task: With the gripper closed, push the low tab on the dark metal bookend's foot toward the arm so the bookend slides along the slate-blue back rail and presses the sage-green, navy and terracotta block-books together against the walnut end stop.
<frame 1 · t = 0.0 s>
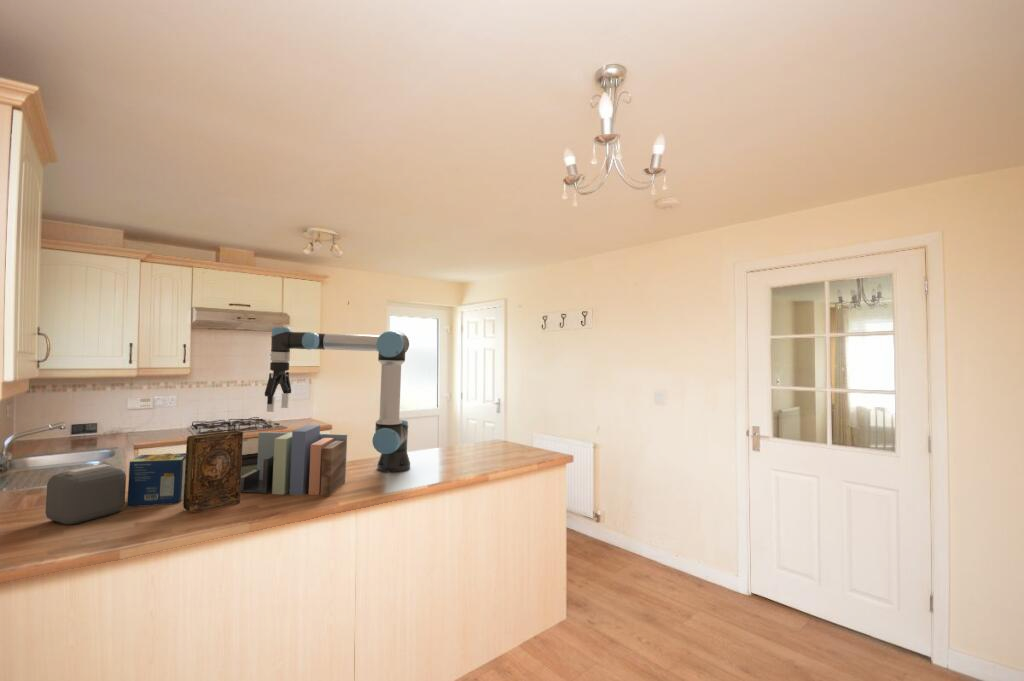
hand: (277, 409, 206), 28 cm above the counter, fingers open, 13 cm apart
green book: (286, 488, 185), on the counter
book: (213, 507, 162), on the counter
back rail: (301, 481, 194), on the counter
terracotta book: (320, 489, 185), on the counter
bookend: (261, 470, 184), point 7 cm above the counter, slide at 0.0 cm
protein box: (158, 501, 166), on the counter
navy book: (304, 488, 185), on the counter
grey rounded-edge box: (88, 517, 148), on the counter
end stop: (332, 489, 185), on the counter
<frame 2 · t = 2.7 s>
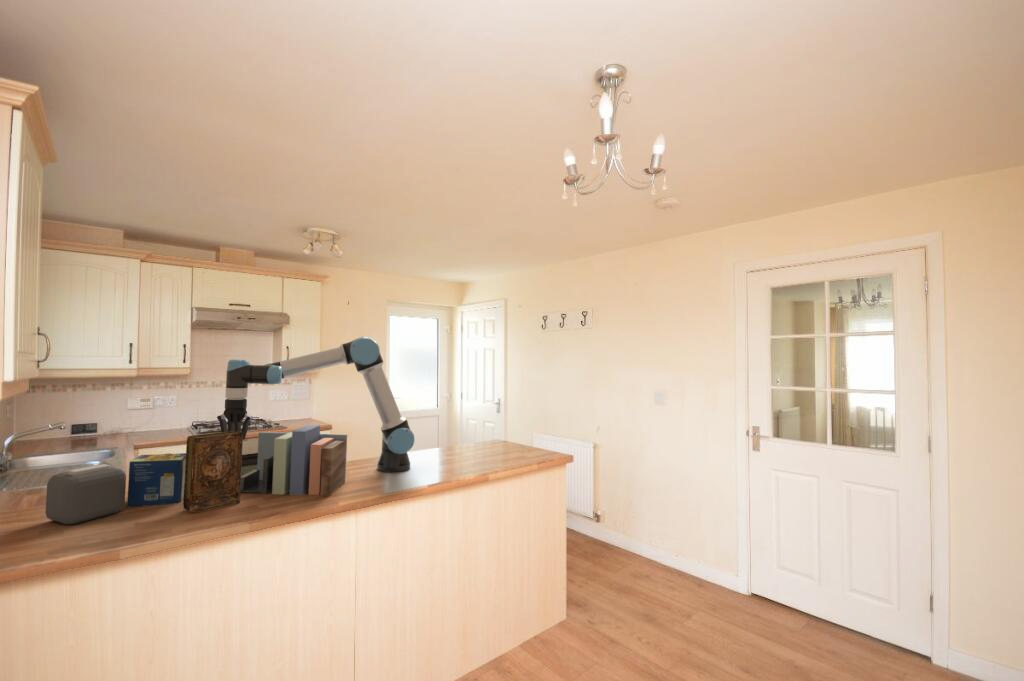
hand: (232, 458, 184), 11 cm above the counter, fingers closed
nothing on the counter moved.
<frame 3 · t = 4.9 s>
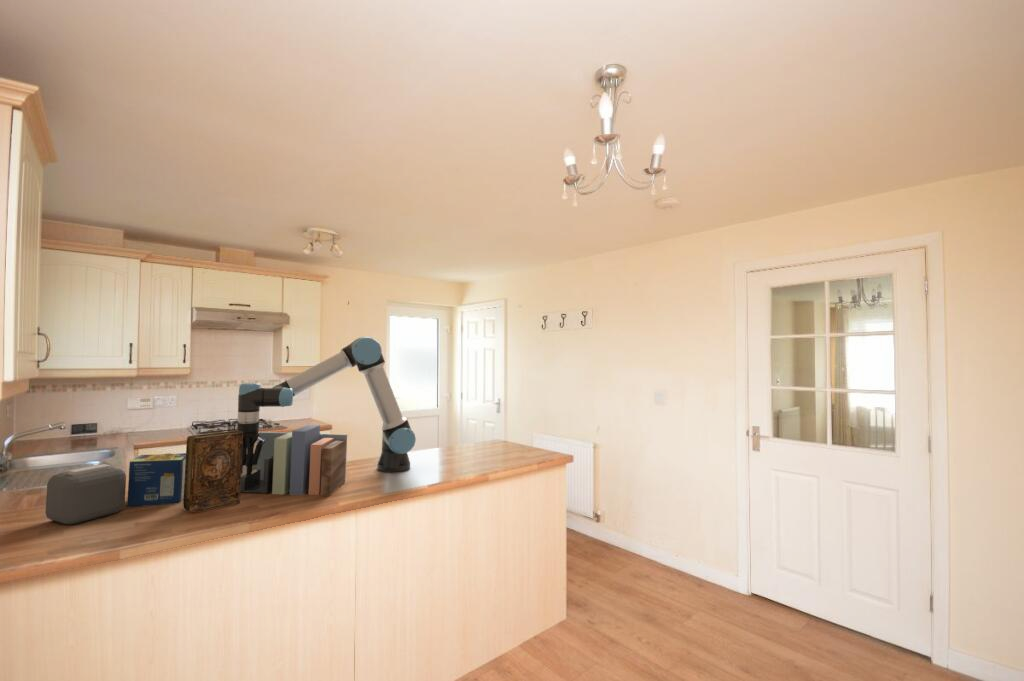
hand: (245, 481, 184), 2 cm above the counter, fingers closed
bookend: (262, 470, 184), point 7 cm above the counter, slide at 0.3 cm, touching gripper
everything else where it was.
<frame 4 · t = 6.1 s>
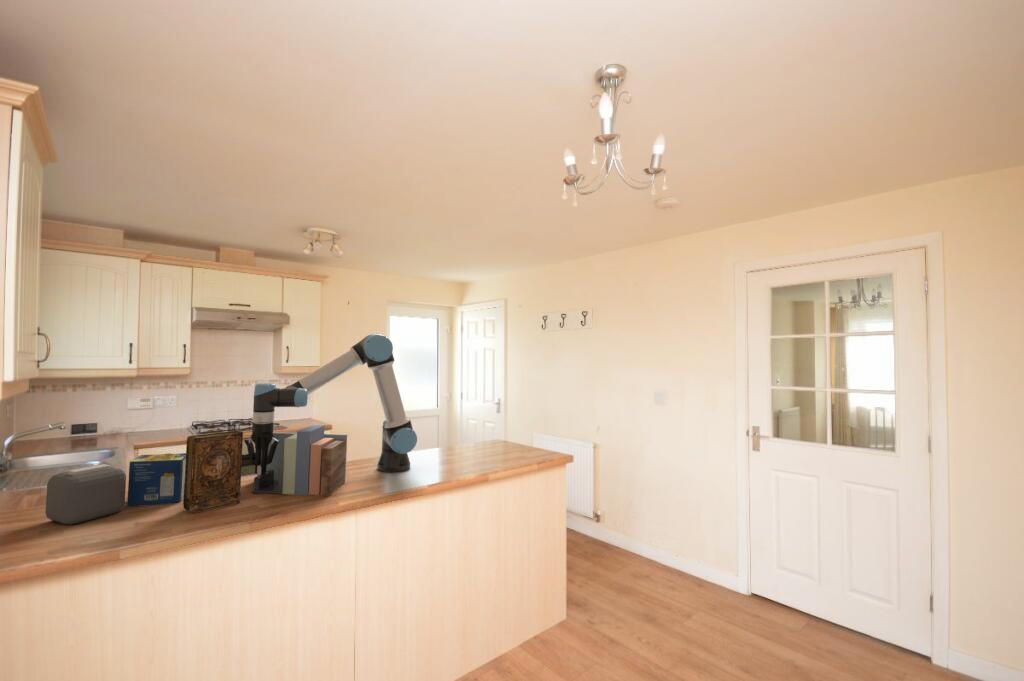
hand: (260, 481, 184), 2 cm above the counter, fingers closed
green book: (296, 488, 185), on the counter, touching bookend, navy book
bookend: (276, 471, 185), point 7 cm above the counter, slide at 5.8 cm, touching green book, gripper
navy book: (308, 488, 185), on the counter, touching green book
everything else where it was.
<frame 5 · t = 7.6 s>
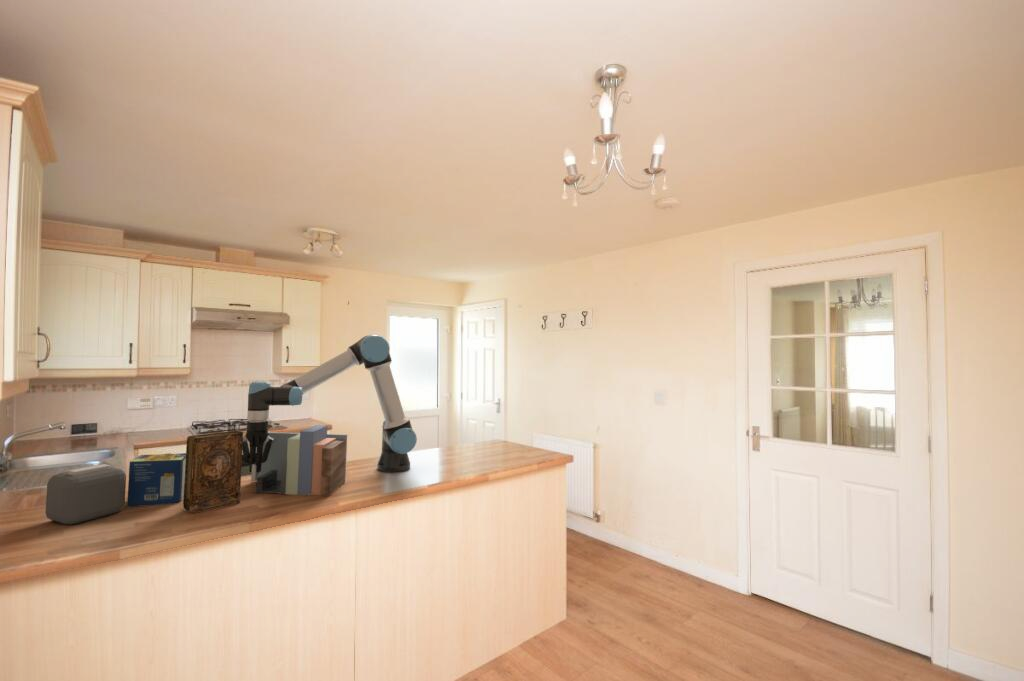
hand: (254, 480, 184), 3 cm above the counter, fingers closed
green book: (299, 488, 185), on the counter
terracotta book: (323, 489, 185), on the counter, touching navy book
bookend: (279, 471, 185), point 7 cm above the counter, slide at 6.9 cm
navy book: (311, 488, 185), on the counter, touching terracotta book
everything else where it was.
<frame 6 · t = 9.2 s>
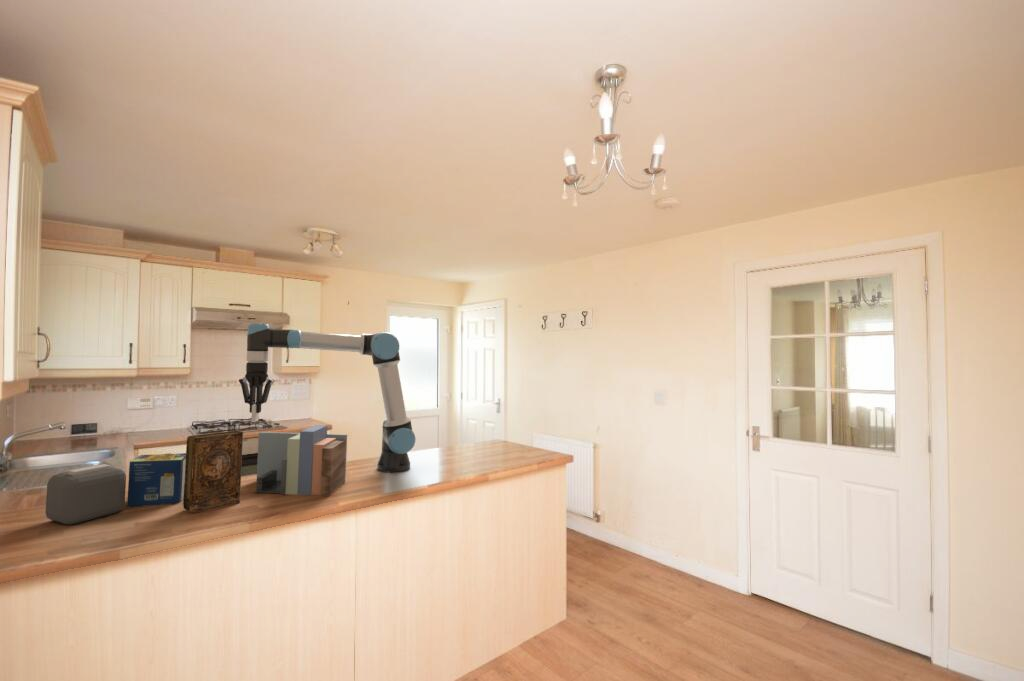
hand: (254, 420, 186), 26 cm above the counter, fingers closed
green book: (299, 488, 185), on the counter, touching navy book
terracotta book: (323, 489, 185), on the counter
navy book: (311, 488, 185), on the counter, touching green book
everything else where it was.
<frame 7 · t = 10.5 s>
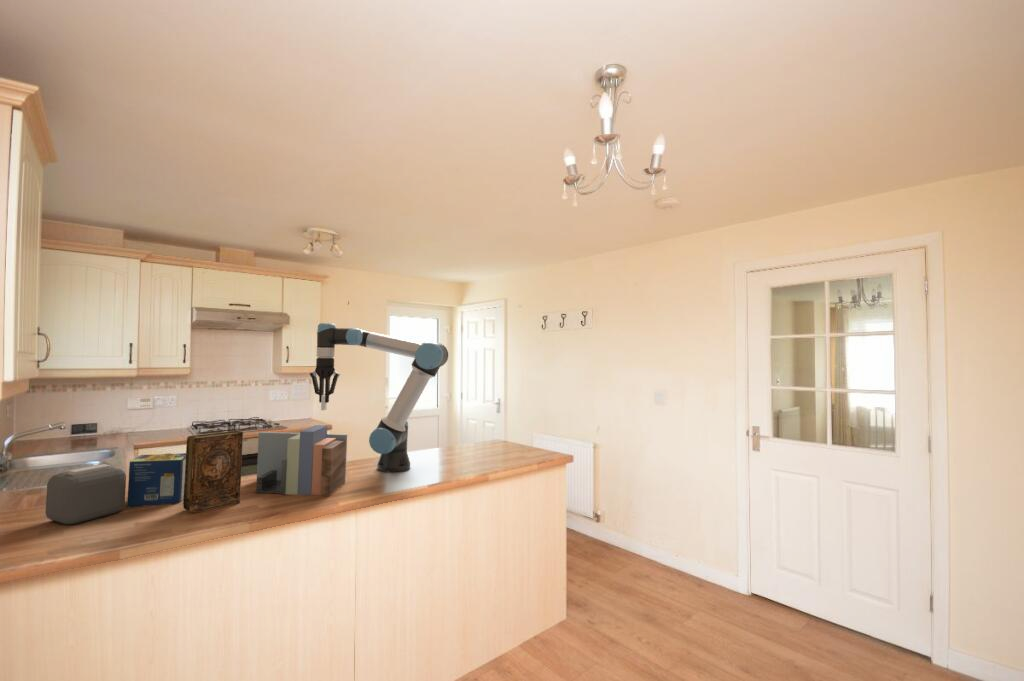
hand: (323, 409, 209), 28 cm above the counter, fingers closed
green book: (299, 488, 185), on the counter
navy book: (311, 488, 185), on the counter
everything else where it was.
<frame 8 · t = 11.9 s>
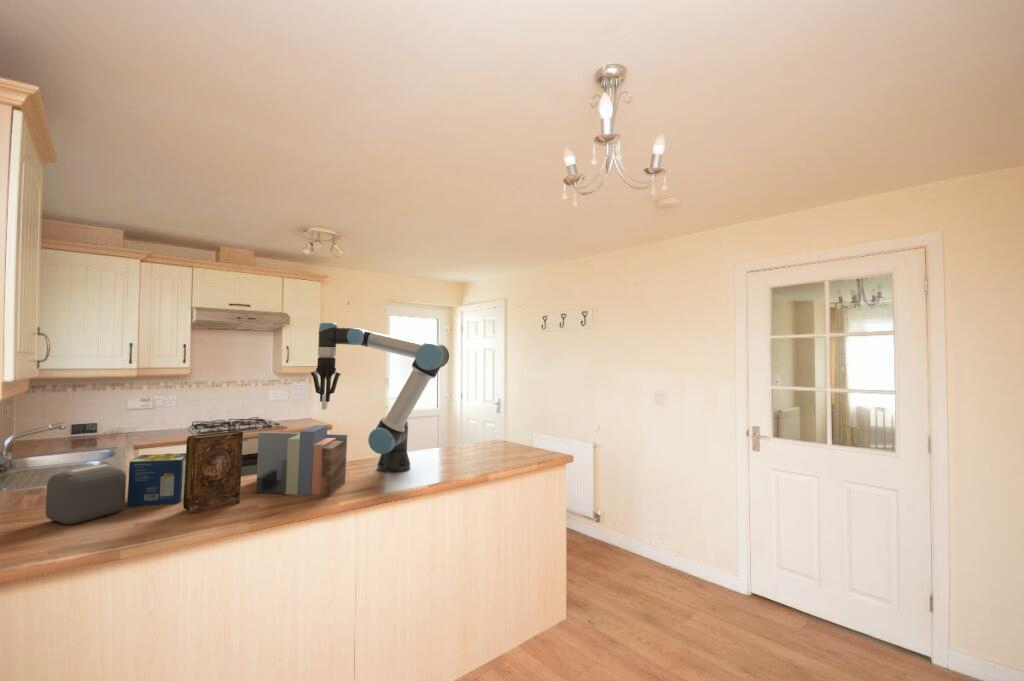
hand: (324, 409, 210), 28 cm above the counter, fingers closed
nothing on the counter moved.
at the end: bookend slide at 6.9 cm; navy book moved 3.0 cm from its start; navy book tilted 0° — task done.
